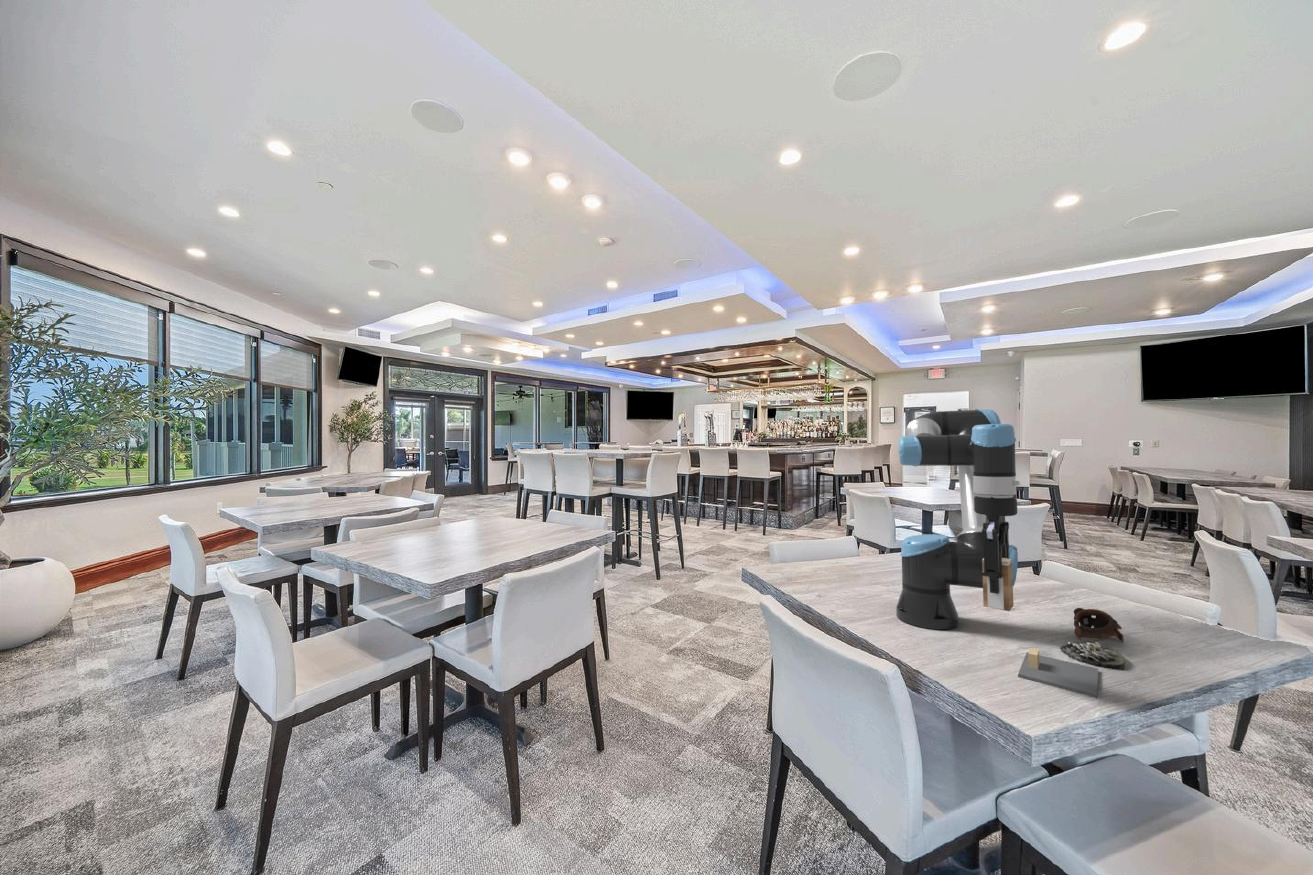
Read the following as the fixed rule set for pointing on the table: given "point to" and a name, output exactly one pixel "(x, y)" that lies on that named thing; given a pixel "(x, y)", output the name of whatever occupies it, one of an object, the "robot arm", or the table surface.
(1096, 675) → the board
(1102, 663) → the oyster shell
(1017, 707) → the table surface
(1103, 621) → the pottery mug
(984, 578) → the teak block
